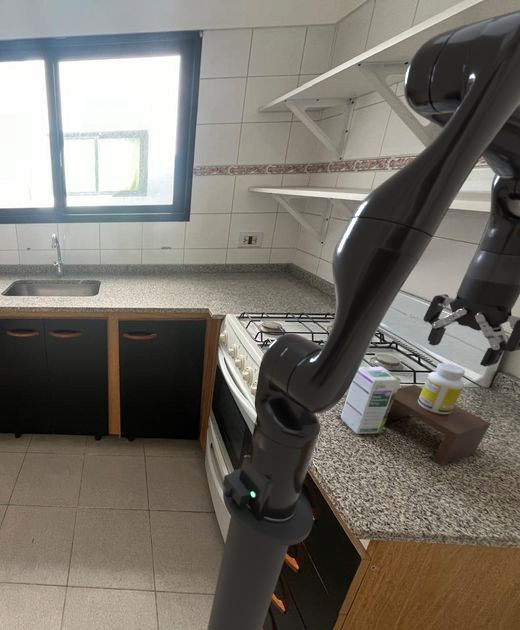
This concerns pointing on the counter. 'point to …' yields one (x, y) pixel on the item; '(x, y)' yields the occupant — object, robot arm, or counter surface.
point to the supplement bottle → (442, 389)
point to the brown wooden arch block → (442, 424)
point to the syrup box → (370, 399)
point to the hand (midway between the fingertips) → (458, 354)
